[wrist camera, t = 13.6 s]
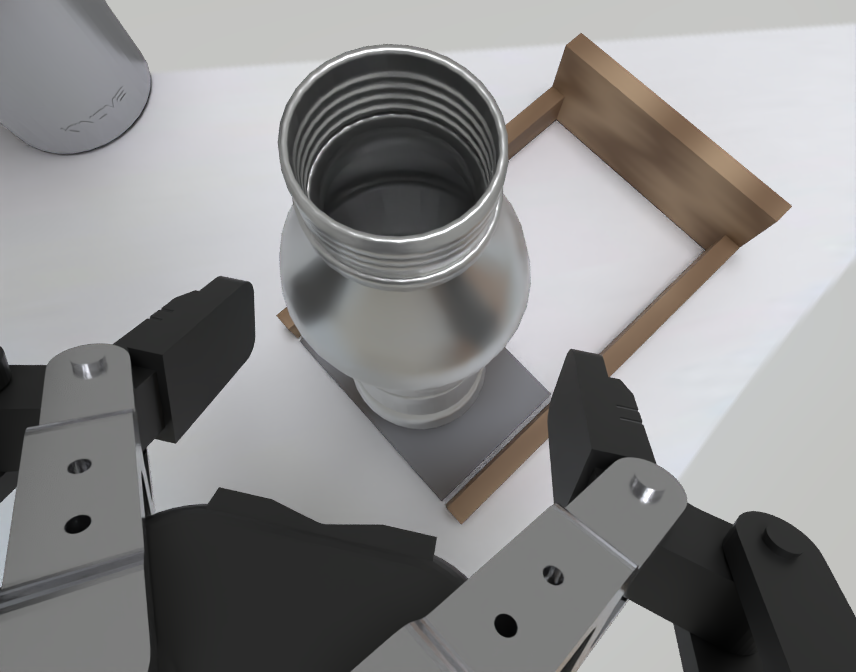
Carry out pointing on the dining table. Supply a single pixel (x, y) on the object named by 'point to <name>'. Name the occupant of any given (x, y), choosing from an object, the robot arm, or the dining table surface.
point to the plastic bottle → (401, 229)
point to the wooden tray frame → (720, 237)
